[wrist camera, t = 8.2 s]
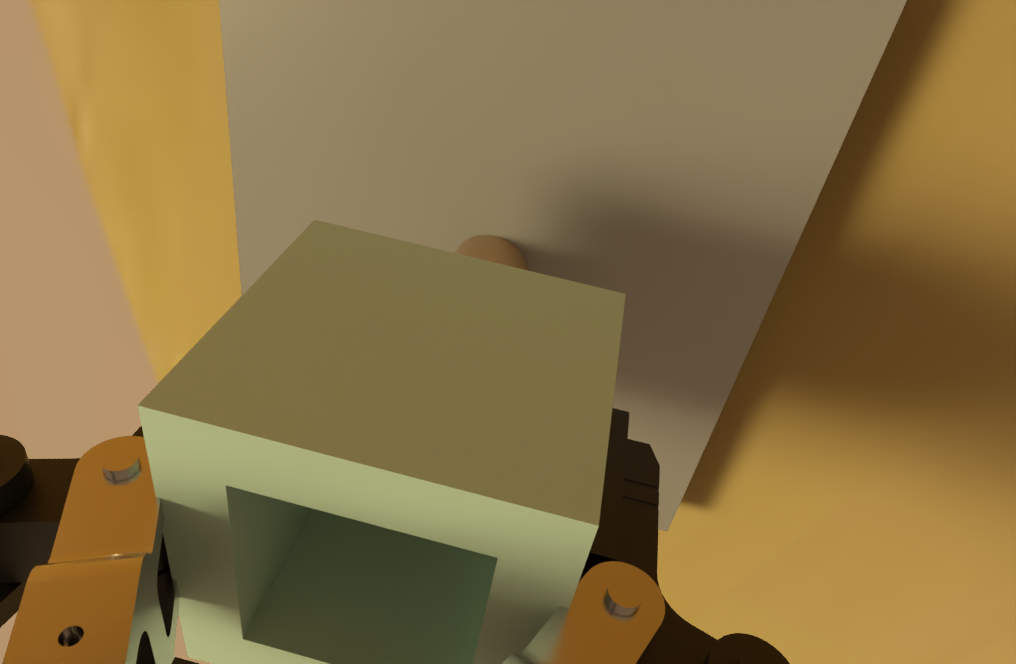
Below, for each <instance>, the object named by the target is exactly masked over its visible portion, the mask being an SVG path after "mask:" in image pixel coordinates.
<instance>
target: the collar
mask: <svg viewBox="0 0 1016 664" xmlns="http://www.w3.org/2000/svg"><path fill="white" fill-rule="evenodd" d="M625 296H626V294H624V293H620V292H616V291H611V290H607V289H603V288H599V287H595V286H591V285H586V284H582V283H578V282H574V281H570V280H565V279H561V278H557V277H553V276H549V275H544V274H540V273H536V272H532V271H528V270H524V269H519V268H515V267H511V266H507V265H503V264H498V263H494V262H490V261H486V260H482V259H477V258H473V257H469V256H465V255H461V254H457V253H452V252H448V251H444V250H440V249H436V248H431V247H427V246H423V245H419V244H415V243H410V242H406V241H402V240H398V239H394V238H390V237H385V236H381V235H377V234H373V233H369V232H364V231H360V230H356V229H352V228H348V227H343V226H339V225H335V224H331V223H327V222H322V221H318V220H314V221H313V222H312V223H311V224H310V225H309V226H308V227H307V228H306V229H305V230H304V231H303V232H302V233H301V235H300V236H299V237H298V238H297V239H296V240H295V241H294V242H293V243H292V244H291V245H290V246H289V247H288V248H287V249H286V250H285V251H284V252H283V253H282V254H281V256H280V257H279V258H278V259H277V260H276V261H275V262H274V263H273V264H272V265H271V266H270V267H269V268H268V269H267V270H266V271H265V272H264V273H263V274H262V275H261V277H260V278H259V279H258V280H257V281H256V282H255V283H254V284H253V285H252V286H251V287H250V288H249V289H248V290H247V291H246V292H245V293H244V294H243V295H242V296H241V297H240V299H239V300H238V301H237V302H236V303H235V304H234V305H233V306H232V307H231V308H230V309H229V310H228V311H227V312H226V313H225V314H224V315H223V316H222V317H221V318H220V320H219V321H218V322H217V323H216V324H215V325H214V326H213V327H212V328H211V329H210V330H209V331H208V332H207V333H206V334H205V335H204V336H203V337H202V338H201V339H200V341H199V342H198V343H197V344H196V345H195V346H194V347H193V348H192V349H191V350H190V351H189V352H188V353H187V354H186V355H185V356H184V357H183V358H182V359H181V360H180V362H179V363H178V364H177V365H176V366H175V367H174V368H173V369H172V370H171V371H170V372H169V373H168V374H167V375H166V376H165V377H164V378H163V379H162V380H161V381H160V382H159V384H158V385H157V386H156V387H155V388H154V389H153V390H152V391H151V392H150V393H149V394H148V395H147V396H146V397H145V398H144V399H143V400H142V401H141V402H140V404H139V405H138V410H139V415H140V420H141V425H142V430H143V435H144V440H145V445H146V450H147V455H148V460H149V465H150V470H151V475H152V480H153V485H154V490H155V495H156V497H158V498H161V502H162V507H163V512H164V517H165V521H164V528H163V536H164V541H165V546H166V551H167V556H168V561H169V566H170V571H171V576H172V579H174V580H177V584H178V589H179V595H180V601H179V610H178V611H179V616H180V621H181V626H182V631H183V637H184V642H185V646H186V652H187V656H188V657H190V658H194V659H197V660H201V661H204V662H208V663H212V664H502V663H503V662H504V661H505V660H506V659H507V658H508V657H509V656H510V655H512V654H514V653H516V654H518V655H519V654H520V653H521V652H523V651H524V649H525V648H526V647H527V646H528V645H529V644H530V642H531V641H532V640H533V639H534V637H535V636H536V635H537V634H538V632H539V631H540V630H541V629H542V627H543V626H544V625H545V624H546V623H547V621H548V620H549V619H550V618H551V616H552V615H553V614H554V613H555V611H556V610H557V609H558V608H559V606H563V607H567V608H570V605H571V602H572V599H573V597H574V594H575V591H576V588H577V585H578V583H579V580H580V577H581V574H582V571H583V569H584V566H585V563H586V560H587V557H588V555H589V552H590V549H591V546H592V543H593V541H594V538H595V535H596V532H597V529H598V527H599V520H600V511H601V502H602V494H603V485H604V476H605V468H606V459H607V451H608V442H609V433H610V425H611V416H612V408H613V399H614V390H615V382H616V373H617V365H618V356H619V347H620V339H621V330H622V322H623V313H624V304H625Z"/></svg>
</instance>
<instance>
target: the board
mask: <svg viewBox="0 0 1016 664" xmlns="http://www.w3.org/2000/svg"><path fill="white" fill-rule="evenodd" d="M906 1H907V0H219V5H220V18H221V31H222V44H223V57H224V70H225V83H226V96H227V109H228V122H229V135H230V148H231V161H232V174H233V187H234V200H235V213H236V226H237V239H238V252H239V265H240V278H241V291H242V295H243V294H244V293H245V292H246V291H247V290H248V289H249V288H250V287H251V286H252V285H253V284H254V283H255V282H256V281H257V280H258V279H259V278H260V277H261V275H262V274H263V273H264V272H265V271H266V270H267V269H268V268H269V267H270V266H271V265H272V264H273V263H274V262H275V261H276V260H277V259H278V258H279V257H280V256H281V254H282V253H283V252H284V251H285V250H286V249H287V248H288V247H289V246H290V245H291V244H292V243H293V242H294V241H295V240H296V239H297V238H298V237H299V236H300V235H301V233H302V232H303V231H304V230H305V229H306V228H307V227H308V226H309V225H310V224H311V223H312V222H313V221H314V220H318V221H322V222H327V223H331V224H335V225H339V226H343V227H348V228H352V229H356V230H360V231H364V232H369V233H373V234H377V235H381V236H385V237H390V238H394V239H398V240H402V241H406V242H410V243H415V244H419V245H423V246H427V247H431V248H436V249H440V250H444V251H448V252H452V253H457V254H461V255H465V256H469V257H473V258H477V259H482V260H486V261H490V262H494V263H498V264H503V265H507V266H511V267H515V268H519V269H524V270H528V271H532V272H536V273H540V274H544V275H549V276H553V277H557V278H561V279H565V280H570V281H574V282H578V283H582V284H586V285H591V286H595V287H599V288H603V289H607V290H611V291H616V292H620V293H624V294H626V296H625V304H624V313H623V322H622V330H621V339H620V347H619V356H618V365H617V373H616V382H615V390H614V399H613V408H615V409H619V410H623V411H627V412H629V426H628V438H627V439H631V440H635V441H639V442H643V443H647V444H650V446H651V448H652V450H653V452H654V454H655V456H656V459H657V461H658V463H659V465H660V479H659V491H658V492H659V506H658V509H659V515H658V529H659V530H663V531H668V529H669V527H670V525H671V522H672V520H673V518H674V516H675V514H676V511H677V509H678V507H679V505H680V502H681V500H682V498H683V496H684V494H685V491H686V489H687V487H688V485H689V483H690V480H691V478H692V476H693V474H694V471H695V469H696V467H697V465H698V463H699V460H700V458H701V456H702V454H703V451H704V449H705V447H706V445H707V443H708V440H709V438H710V436H711V434H712V432H713V429H714V427H715V425H716V423H717V420H718V418H719V416H720V414H721V412H722V409H723V407H724V405H725V403H726V400H727V398H728V396H729V394H730V392H731V389H732V387H733V385H734V383H735V381H736V378H737V376H738V374H739V372H740V369H741V367H742V365H743V363H744V361H745V358H746V356H747V354H748V352H749V349H750V347H751V345H752V343H753V341H754V338H755V336H756V334H757V332H758V330H759V327H760V325H761V323H762V321H763V318H764V316H765V314H766V312H767V310H768V307H769V305H770V303H771V301H772V298H773V296H774V294H775V292H776V290H777V287H778V285H779V283H780V281H781V279H782V276H783V274H784V272H785V270H786V267H787V265H788V263H789V261H790V259H791V256H792V254H793V252H794V250H795V247H796V245H797V243H798V241H799V239H800V236H801V234H802V232H803V230H804V228H805V225H806V223H807V221H808V219H809V216H810V214H811V212H812V210H813V208H814V205H815V203H816V201H817V199H818V197H819V194H820V192H821V190H822V188H823V185H824V183H825V181H826V179H827V177H828V174H829V172H830V170H831V168H832V165H833V163H834V161H835V159H836V157H837V154H838V152H839V150H840V148H841V146H842V143H843V141H844V139H845V137H846V134H847V132H848V130H849V128H850V126H851V123H852V121H853V119H854V117H855V114H856V112H857V110H858V108H859V106H860V103H861V101H862V99H863V97H864V95H865V92H866V90H867V88H868V86H869V83H870V81H871V79H872V77H873V75H874V72H875V70H876V68H877V66H878V63H879V61H880V59H881V57H882V55H883V52H884V50H885V48H886V46H887V44H888V41H889V39H890V37H891V35H892V32H893V30H894V28H895V26H896V24H897V21H898V19H899V17H900V15H901V12H902V10H903V8H904V6H905V4H906Z"/></svg>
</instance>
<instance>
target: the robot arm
mask: <svg viewBox="0 0 1016 664" xmlns="http://www.w3.org/2000/svg"><path fill="white" fill-rule="evenodd" d="M628 426H629V412H627V411H623V410H619V409H615V408H612V416H611V425H610V433H609V442H608V451H607V459H606V468H605V476H604V485H603V494H602V502H601V511H600V520H599V527H598V529H597V532H596V535H595V538H594V541H593V543H592V546H591V549H590V552H589V555H588V557H587V560H586V563H585V566H584V569H583V571H582V574H581V577H580V580H579V583H578V585H577V588H576V591H575V594H574V597H573V599H572V602H571V605H570V608H567V607H563V606H559V608H558V609H557V610H556V611H555V613H554V614H553V615H552V616H551V618H550V619H549V620H548V621H547V623H546V624H545V625H544V626H543V627H542V629H541V630H540V631H539V632H538V634H537V635H536V636H535V637H534V639H533V640H532V641H531V642H530V644H529V645H528V646H527V647H526V648H525V649H524V651H523V652H521V653H520V654H519V655H518V654H516V653H514V654H512V655H510V656H509V657H508V658H507V659H506V660H505V661H504V662H503V663H502V664H789V662H788V661H787V659H786V658H785V657H784V656H783V655H782V654H781V653H780V652H779V651H778V650H777V649H776V648H775V647H773V646H772V645H770V644H769V643H767V642H766V641H764V640H762V639H760V638H758V637H755V636H752V635H748V634H742V633H735V634H729V635H726V636H724V637H722V638H720V639H719V640H717V639H715V638H713V637H711V636H710V635H708V634H706V633H705V632H703V631H701V630H700V629H698V628H696V627H694V626H693V625H691V624H690V623H688V622H687V621H685V620H684V619H683V618H681V617H680V616H679V615H678V614H677V613H676V612H675V611H674V610H673V609H672V608H671V607H670V606H669V604H668V603H667V601H666V600H665V598H664V596H663V595H662V593H661V590H660V588H659V584H658V580H657V551H658V515H659V509H658V506H659V492H658V491H659V479H660V465H659V463H658V461H657V459H656V456H655V454H654V452H653V450H652V448H651V446H650V444H647V443H643V442H639V441H635V440H631V439H627V438H628ZM164 521H165V517H164V512H163V507H162V502H161V498H158V497H156V495H155V490H154V485H153V480H152V475H151V470H150V465H149V460H148V455H147V450H146V445H145V440H144V435H143V430H142V426H141V427H140V428H139V429H138V430H137V431H136V432H135V433H134V434H133V435H132V436H124V437H117V438H113V439H110V440H107V441H104V442H102V443H100V444H98V445H96V446H94V447H93V448H91V449H90V450H89V451H87V452H86V453H85V454H84V455H83V456H82V457H81V458H77V459H28V457H27V454H26V451H25V448H24V447H23V445H22V444H21V443H20V442H19V441H17V440H16V439H14V438H11V437H8V436H4V435H0V627H1V626H2V625H3V624H5V623H6V622H7V621H8V620H9V619H10V618H11V617H12V616H13V615H14V614H15V613H16V612H17V611H18V613H17V617H16V620H15V623H14V626H13V630H12V633H11V636H10V640H9V643H8V647H7V650H6V653H5V657H4V660H3V663H2V664H198V663H195V662H191V661H188V660H184V659H180V658H177V657H175V658H174V647H175V637H176V628H177V619H178V610H179V601H180V595H179V589H178V584H177V580H174V579H172V576H171V571H170V566H169V561H168V556H167V551H166V546H165V541H164V536H163V528H164Z"/></svg>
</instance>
